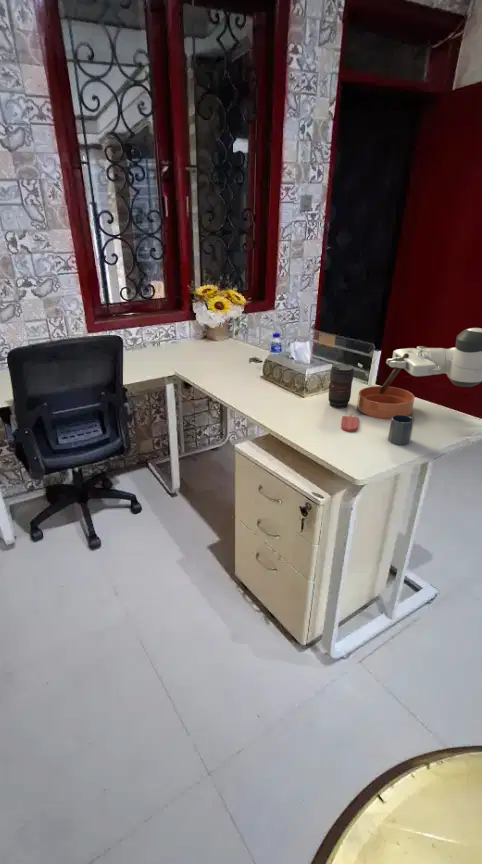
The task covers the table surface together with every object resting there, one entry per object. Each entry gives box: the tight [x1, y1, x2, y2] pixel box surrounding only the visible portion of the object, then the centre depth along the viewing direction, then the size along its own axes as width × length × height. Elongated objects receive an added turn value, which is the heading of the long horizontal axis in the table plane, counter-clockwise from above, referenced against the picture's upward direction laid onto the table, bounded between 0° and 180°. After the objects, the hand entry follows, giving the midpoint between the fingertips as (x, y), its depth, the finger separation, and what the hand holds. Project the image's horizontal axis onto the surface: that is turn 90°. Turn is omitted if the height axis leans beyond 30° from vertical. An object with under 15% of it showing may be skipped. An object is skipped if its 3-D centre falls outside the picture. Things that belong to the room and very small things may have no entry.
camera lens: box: [328, 363, 355, 409], centre depth 153 cm, size 8×8×15 cm
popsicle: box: [340, 412, 360, 433], centre depth 141 cm, size 5×2×15 cm
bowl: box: [356, 385, 416, 420], centre depth 149 cm, size 18×18×6 cm
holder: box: [387, 415, 415, 446], centre depth 126 cm, size 6×6×8 cm
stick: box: [379, 353, 409, 394], centre depth 144 cm, size 2×2×16 cm
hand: (388, 363), depth 142 cm, fingers closed on stick, 1 cm apart
